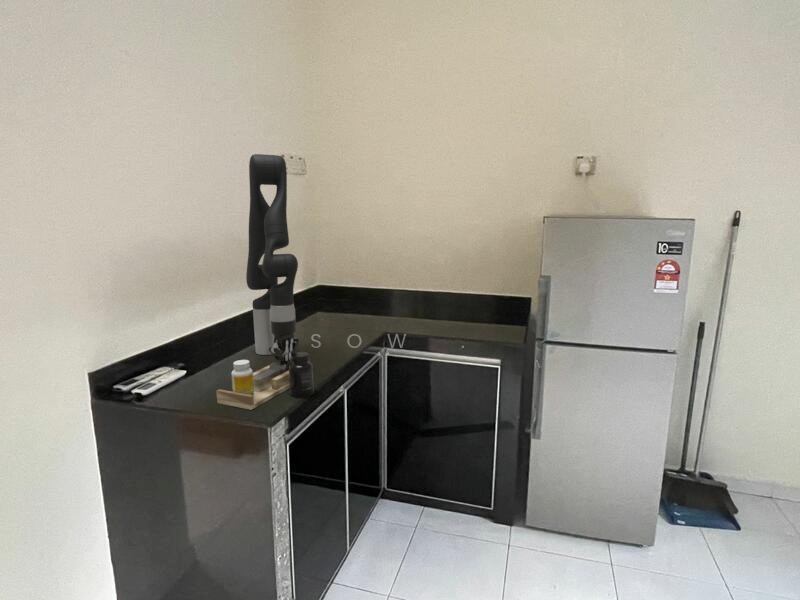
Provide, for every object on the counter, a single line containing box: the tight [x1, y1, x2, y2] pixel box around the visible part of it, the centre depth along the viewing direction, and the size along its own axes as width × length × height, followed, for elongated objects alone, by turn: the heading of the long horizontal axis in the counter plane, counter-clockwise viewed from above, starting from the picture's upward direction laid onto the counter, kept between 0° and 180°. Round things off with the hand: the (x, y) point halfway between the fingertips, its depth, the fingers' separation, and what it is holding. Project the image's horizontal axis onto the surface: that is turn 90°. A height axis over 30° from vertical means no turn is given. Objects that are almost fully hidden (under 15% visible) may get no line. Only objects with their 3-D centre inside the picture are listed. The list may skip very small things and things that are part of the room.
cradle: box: [215, 364, 290, 411], centre depth 142 cm, size 23×12×4 cm, turn 157°
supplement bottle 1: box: [231, 359, 254, 396], centre depth 134 cm, size 6×6×10 cm
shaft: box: [253, 361, 287, 392], centre depth 144 cm, size 12×5×5 cm, turn 157°
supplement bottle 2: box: [289, 351, 315, 399], centre depth 140 cm, size 7×7×12 cm
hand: (285, 371), depth 152 cm, fingers closed
